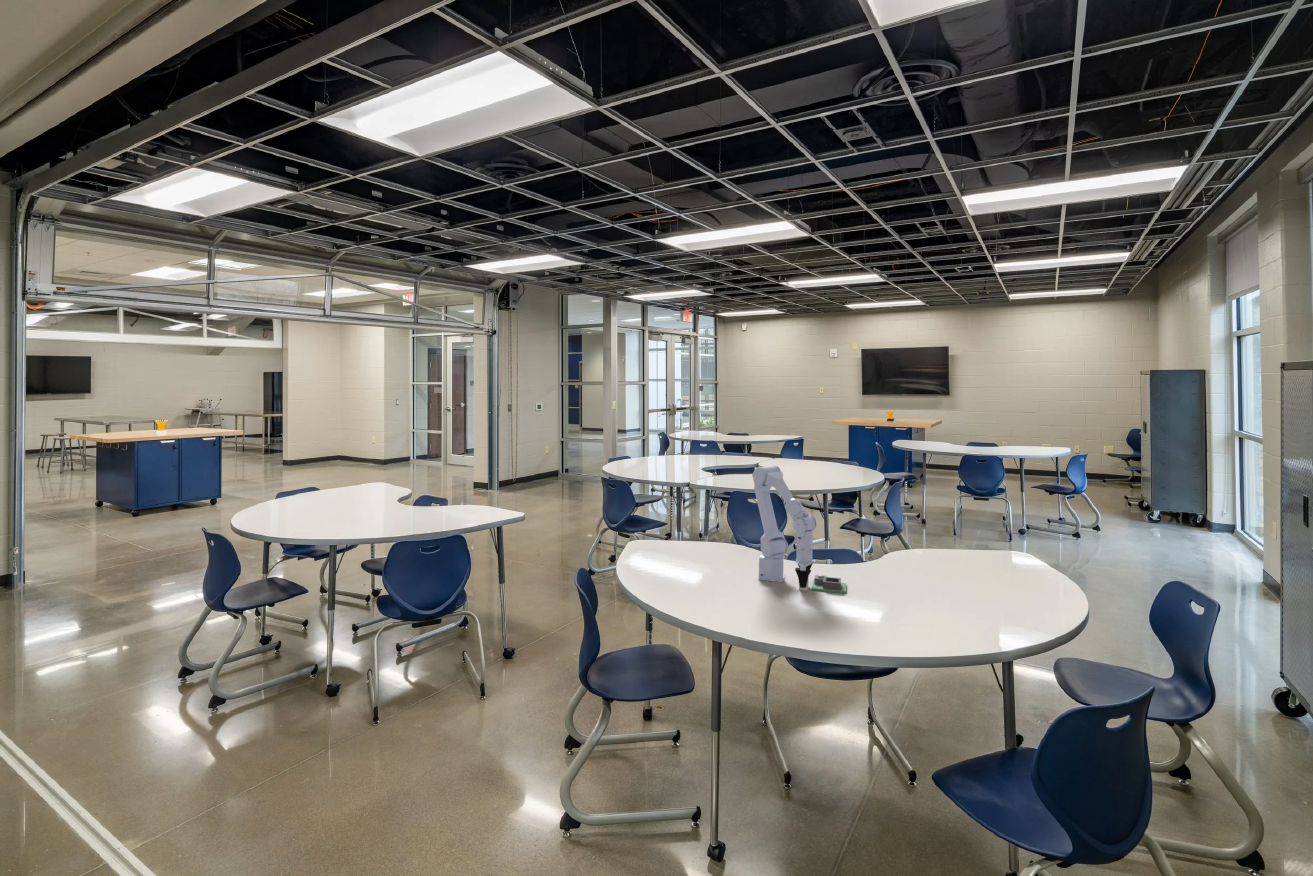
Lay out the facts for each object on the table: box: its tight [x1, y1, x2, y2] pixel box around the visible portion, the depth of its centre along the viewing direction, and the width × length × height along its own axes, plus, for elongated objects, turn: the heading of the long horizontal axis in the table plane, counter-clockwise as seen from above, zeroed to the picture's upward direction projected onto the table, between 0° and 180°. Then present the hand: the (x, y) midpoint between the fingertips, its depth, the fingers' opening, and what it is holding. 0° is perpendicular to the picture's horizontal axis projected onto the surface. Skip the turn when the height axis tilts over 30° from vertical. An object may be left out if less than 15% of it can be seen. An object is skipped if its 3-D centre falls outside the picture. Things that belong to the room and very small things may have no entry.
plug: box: [798, 575, 810, 591], centre depth 228 cm, size 3×3×7 cm
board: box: [811, 574, 847, 595], centre depth 229 cm, size 12×10×4 cm
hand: (803, 584), depth 228 cm, fingers open, 7 cm apart
